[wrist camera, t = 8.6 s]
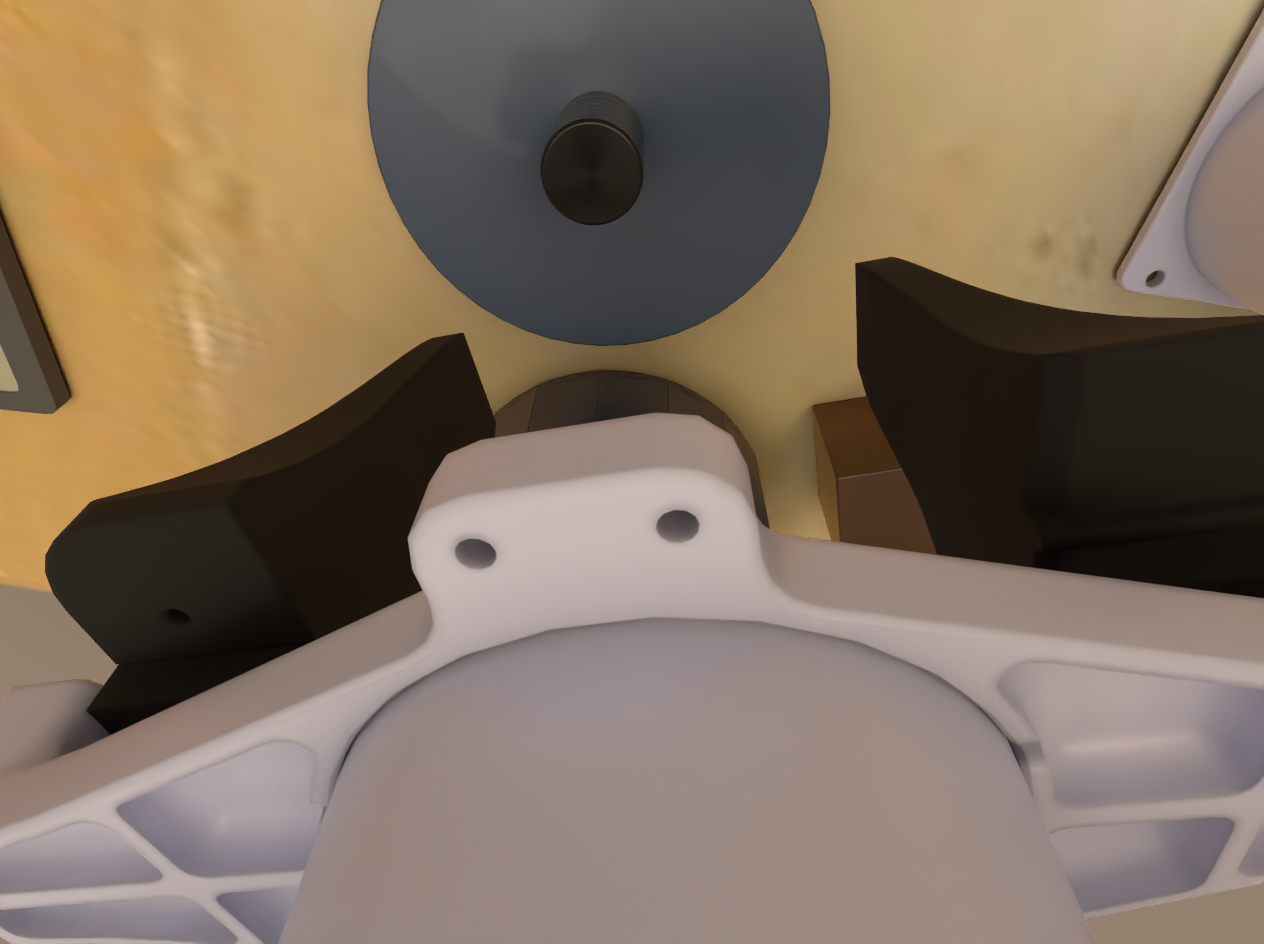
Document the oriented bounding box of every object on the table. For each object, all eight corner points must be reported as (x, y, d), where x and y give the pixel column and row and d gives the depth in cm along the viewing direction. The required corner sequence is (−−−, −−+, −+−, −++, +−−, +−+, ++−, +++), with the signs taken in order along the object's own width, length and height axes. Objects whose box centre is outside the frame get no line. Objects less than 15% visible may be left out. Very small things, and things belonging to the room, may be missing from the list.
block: (936, 385, 26) (980, 456, 22) (932, 481, 28) (971, 558, 25) (811, 405, 26) (836, 478, 23) (818, 497, 29) (841, 575, 25)
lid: (887, -102, 18) (947, -105, 14) (760, 354, 25) (779, 427, 21) (363, -201, 17) (289, -232, 13) (389, 302, 24) (345, 369, 21)
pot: (794, 394, 26) (824, 490, 22) (724, 614, 32) (736, 722, 28) (468, 349, 25) (430, 440, 21) (463, 585, 32) (435, 691, 27)
